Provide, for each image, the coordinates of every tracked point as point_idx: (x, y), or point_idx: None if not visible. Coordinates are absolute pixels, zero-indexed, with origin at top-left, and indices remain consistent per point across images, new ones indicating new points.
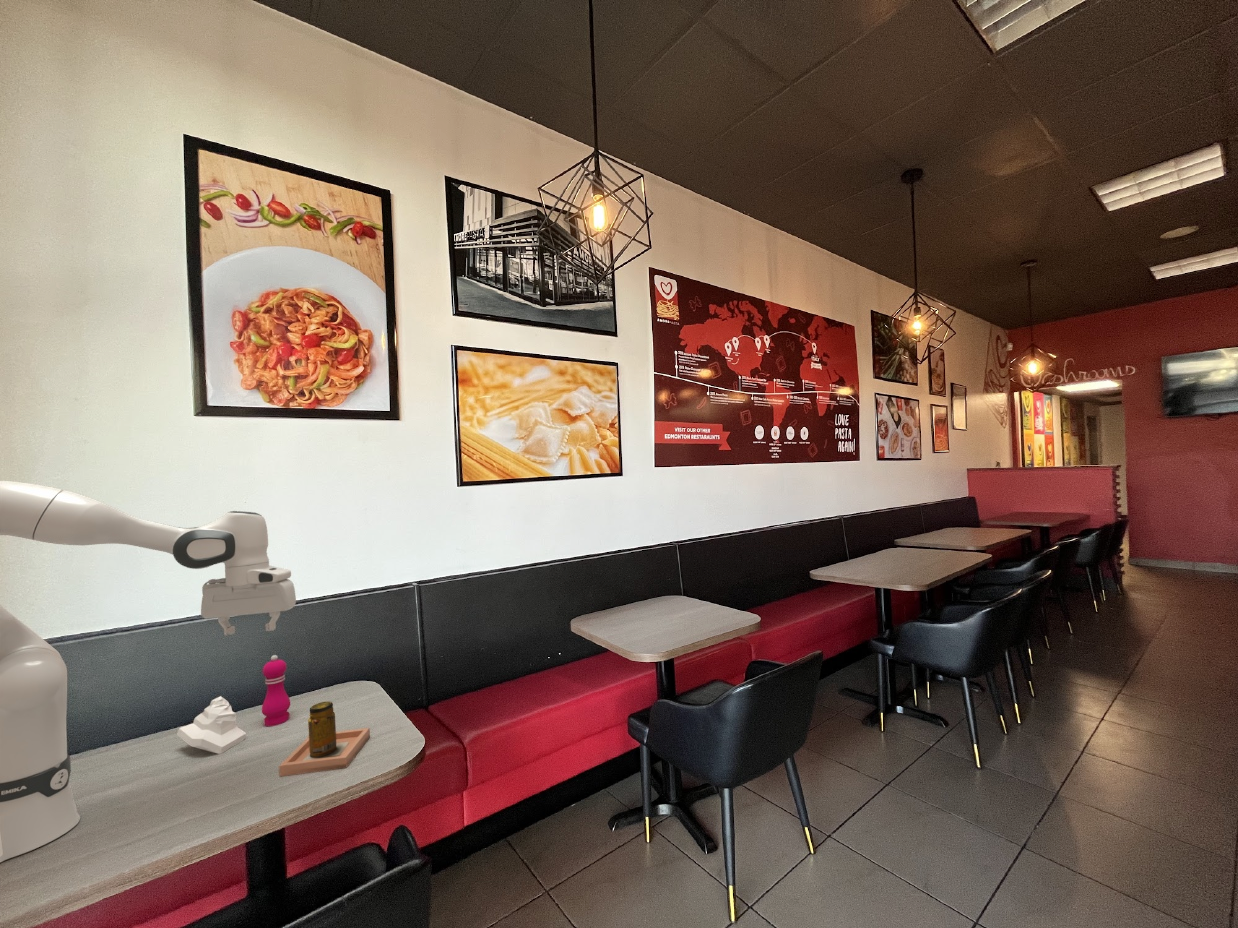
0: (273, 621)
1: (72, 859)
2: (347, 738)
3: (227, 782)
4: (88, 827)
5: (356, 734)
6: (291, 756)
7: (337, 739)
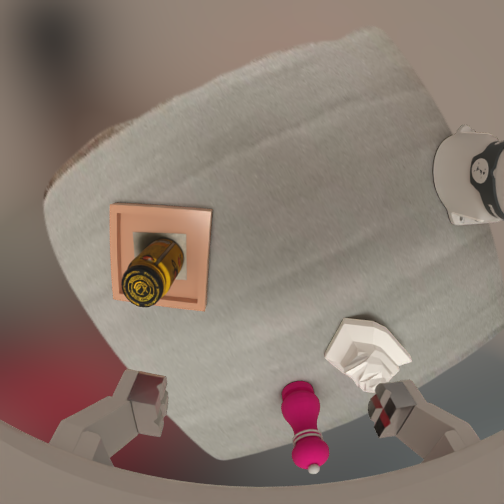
0: (98, 405)
1: (392, 96)
2: None
3: (292, 218)
4: (418, 166)
5: None
6: (203, 239)
7: None
